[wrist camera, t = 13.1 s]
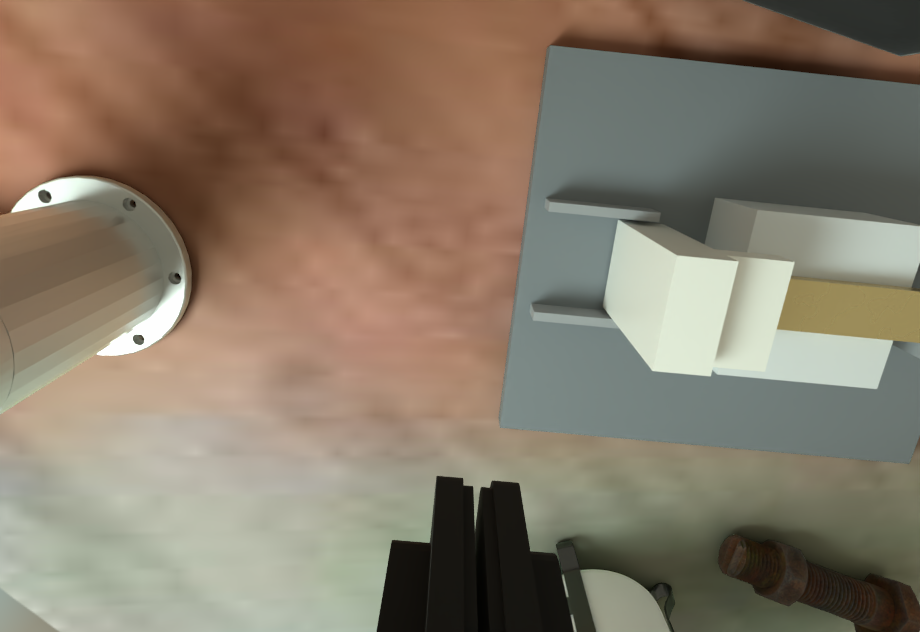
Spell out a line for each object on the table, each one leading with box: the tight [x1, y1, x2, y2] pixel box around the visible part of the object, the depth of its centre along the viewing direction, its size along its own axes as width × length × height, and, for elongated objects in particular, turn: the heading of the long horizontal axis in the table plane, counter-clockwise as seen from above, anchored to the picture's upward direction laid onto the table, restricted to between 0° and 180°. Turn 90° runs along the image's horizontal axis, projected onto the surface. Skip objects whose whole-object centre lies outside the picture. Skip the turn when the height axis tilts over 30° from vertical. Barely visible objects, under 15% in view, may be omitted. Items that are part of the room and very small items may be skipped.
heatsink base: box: [499, 45, 920, 464], centre depth 38 cm, size 31×26×10 cm
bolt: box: [718, 534, 920, 632], centre depth 48 cm, size 6×5×15 cm
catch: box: [603, 220, 795, 376], centre depth 35 cm, size 6×6×11 cm
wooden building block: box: [777, 276, 920, 343], centre depth 35 cm, size 15×3×11 cm
